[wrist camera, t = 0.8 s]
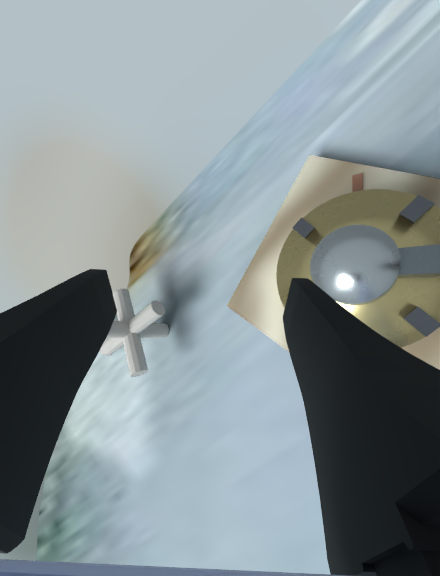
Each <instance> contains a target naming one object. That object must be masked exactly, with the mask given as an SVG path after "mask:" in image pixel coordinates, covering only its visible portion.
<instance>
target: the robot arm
mask: <svg viewBox="0 0 440 576" xmlns="http://www.w3.org/2000/svg"><path fill="white" fill-rule="evenodd" d="M116 312H117V308H116V305H115V301H114V297H113V293H112V290H111V286H110V282H109V279H108V275H107V271H106V270H97V269H90V270H87V271H85V272H83V273H81V274H79V275H76V276H75V277H72V278H70V279H68V280H67V281H65V282H63V283H61V284H59V285H57V286H55V287H53V288H51V289H49V290H47V291H45V292H44V293H42V294H40V295H38V296H36V297H34V298H32V299H30V300H27V301H25V302H23V303H21V304H19V305H17V306H15V307H13V308H11V309H9V310H7V311H5V312H2V313H0V553H8V552H10V551H12V550H13V549H14V548H15V547H17V546H18V545H19V544H20V543H21V542H22V541H23V540H24V538H25V535H26V531H27V528H28V524H29V521H30V518H31V515H32V512H33V508H34V506H35V503H36V499H37V496H38V493H39V490H40V487H41V484H42V481H43V478H44V475H45V473H46V470H47V467H48V464H49V461H50V458H51V456H52V453H53V450H54V447H55V445H56V442H57V440H58V437H59V434H60V432H61V429H62V427H63V424H64V422H65V419H66V417H67V414H68V412H69V410H70V407H71V405H72V403H73V400H74V398H75V395H76V393H77V391H78V389H79V387H80V385H81V383H82V381H83V379H84V378H85V376H86V374H87V372H88V370H89V369H90V367H91V365H92V363H93V361H94V359H95V358H96V356H97V354H98V352H99V350H100V349H101V347H102V345H103V343H104V341H105V339H106V337H107V335H108V334H109V331H110V329H111V326H112V324H113V321H114V318H115V315H116ZM283 324H284V331H285V337H286V342H287V345H288V349H289V352H290V356H291V359H292V363H293V366H294V369H295V373H296V376H297V379H298V383H299V386H300V389H301V393H302V397H303V401H304V405H305V410H306V416H307V421H308V426H309V431H310V437H311V443H312V449H313V455H314V461H315V467H316V474H317V481H318V487H319V494H320V501H321V509H322V517H323V525H324V533H325V541H326V550H327V559H328V564H329V568H330V573H331V575H325V574H304V573H282V572H261V571H239V570H218V569H197V568H175V567H154V566H132V565H111V564H90V563H68V562H47V561H25V560H2V559H0V576H440V370H439V369H437V368H435V367H433V366H432V365H430V364H428V363H426V362H424V361H423V360H421V359H419V358H417V357H415V356H414V355H412V354H410V353H409V352H407V351H405V350H404V349H402V348H400V347H399V346H397V345H396V344H394V343H393V342H391V341H389V340H388V339H386V338H385V337H383V336H382V335H380V334H379V333H377V332H376V331H374V330H373V329H371V328H370V327H369V326H367V325H366V324H365V323H363V322H362V321H360V320H359V319H358V318H356V317H355V316H354V315H352V314H351V313H350V312H349V311H347V310H346V309H345V308H344V307H342V306H341V305H340V304H339V303H337V302H336V301H335V300H334V299H333V298H331V297H330V296H329V295H328V294H327V293H325V292H324V291H323V290H322V289H321V288H319V287H318V286H317V285H316V284H315V283H313V282H312V281H311V280H309V279H308V278H292V280H291V284H290V288H289V293H288V297H287V301H286V305H285V310H284V314H283Z"/></svg>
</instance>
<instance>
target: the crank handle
mask: <svg viewBox="0 0 440 576" xmlns="http://www.w3.org/2000/svg"><path fill="white" fill-rule="evenodd" d="M434 204H435V203H434V202H432V201H430V200H428V199H426V198H424V197H422V196H420V195H418V196H415V195H412V194H409V193H405V192H402V191H396V190H389V189H369V190H361V191H355V192H351V193H347V194H343V195H340V196H338V197H335V198H333V199H331V200H329V201H327V202H325V203H323V204H321V205H319V206H318V207H316V208H315V209H313V210H312V211H311V212H309V213H308V214H307V215H306V216H305V217H304V218H302V217H301V218H300V220H299V221H298V222H297V223H296V224H295V225H294V226H293V227H292V228H293V230H292V231H291V233H290V234H289V236H288V237H287V239H286V241H285V243H284V245H283V247H282V249H281V252H280V255H279V259H278V263H277V272H276V277H277V288H278V293H279V296H280V299H281V302H282V304H283V306H284V308H285V305H286V301H287V297H288V293H289V288H290V284H291V280H292V278H308V279H309V280H311V281H312V282H313V283H315V284H316V285H317V286H318V287H319V288H321V289H322V290H323V291H324V292H325V293H327V294H328V295H329V296H330V297H331V298H333V299H334V300H335V301H336V302H337V303H339V304H340V305H341V306H342V307H344V308H345V309H346V310H347V311H349V312H350V313H351V314H352V315H354V316H355V317H356V318H358V319H359V320H360V321H362V322H363V323H365V324H366V325H367V326H369V327H370V328H371V329H373V330H374V331H376V332H377V333H379V334H380V335H382V336H383V337H385V338H386V339H388V340H389V341H391V342H393V343H394V344H396V345H397V346H399V347H400V348H402V347H405V346H408V345H410V344H412V343H414V342H417V341H419V340H421V339H423V338H424V337H427V336H428V335H430V334H431V333H432V332H434V331H435V330H436V329H438V328H439V327H440V209H439V208H438V207H436V206H435V205H434Z"/></svg>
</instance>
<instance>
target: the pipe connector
mask: <svg viewBox="0 0 440 576" xmlns="http://www.w3.org/2000/svg"><path fill="white" fill-rule="evenodd" d="M113 297H114V301H115V305H116V308H117V316H118V320H119V321H113V324H112V326H111V329H110V331H109V334H108V335H107V337H106V338H107V339H106V340H105V341H104V343H103V345H102V347H101V349H100V352H101V353H102V354H103V355H106V356H109V355H112V354H113V353H114V352H115V351H117V350H118V349H119V348H121V347H122V346H123V345H124V349H125V353H126V358H127V363H128V367H129V372H130V376H131V377H136V376H140V375H142V374H145V373H147V372H148V368H147V364H146V360H145V356H144V352H143V348H142V343H141V339H140V338H165V337H167V335H168V333H169V327H168V325H167V324H164V323H154V322H155V321H156V320H158V319H159V318H160V317H162V316H163V315H164V314H165V308H164V306H163V304H162V303H161V302H159V301H153V302H151V303H150V304H149V305H148V306H146V307H145V308H144V309H143V310H142V311H140V312H139V313H138V314H137V315H134V311H133V307H132V303H131V299H130V295H129V291H128V290H127V289H119V290H116V291H115V292H114V293H113Z"/></svg>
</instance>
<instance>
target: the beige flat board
mask: <svg viewBox="0 0 440 576" xmlns="http://www.w3.org/2000/svg"><path fill="white" fill-rule="evenodd" d="M369 189H389V190H396V191H402V192H405V193H409V194H412V195H415V196H418V195H420V196H422V197H424V198H426V199H428V200H430V201H432V202H434V203H435V204H434V205H435V206H436V207H438V208H439V209H440V179H438V178H433V177H427V176H422V175H417V174H411V173H406V172H400V171H395V170H389V169H384V168H378V167H373V166H368V165H362V164H357V163H351V162H346V161H340V160H335V159H329V158H324V157H319V156H313V155H309V157H308V159H307V160H306V162H305V164H304V166H303V168H302V170H301V171H300V173H299V175H298V177H297V179H296V180H295V182H294V184H293V186H292V188H291V190H290V191H289V193H288V195H287V197H286V199H285V201H284V202H283V204H282V206H281V208H280V210H279V212H278V213H277V215H276V217H275V219H274V221H273V223H272V224H271V226H270V228H269V230H268V232H267V233H266V235H265V237H264V239H263V241H262V243H261V244H260V246H259V248H258V250H257V252H256V254H255V255H254V257H253V259H252V261H251V263H250V265H249V266H248V268H247V270H246V272H245V274H244V276H243V277H242V279H241V281H240V283H239V285H238V286H237V288H236V290H235V292H234V294H233V296H232V297H231V299H230V301H229V303H228V305H227V306H228V307H229V308H230V309H232V310H233V311H234V312H236V313H237V314H238V315H240V316H241V317H242V318H244V319H245V320H246V321H248V322H249V323H251V324H252V325H253V326H255V327H256V328H257V329H259V330H260V331H261V332H263V333H264V334H265V335H267V336H268V337H269V338H271V339H272V340H274V341H275V342H276V343H278V344H279V345H280V346H282V347H283V348H284V349H286V350H287V351H288V352H289V349H288V345H287V342H286V337H285V331H284V324H283V314H284V310H285V308H284V306H283V304H282V302H281V299H280V296H279V293H278V288H277V277H276V272H277V263H278V259H279V255H280V252H281V249H282V247H283V245H284V243H285V241H286V239H287V237H288V236H289V234H290V233H291V231H292V230H293V228H292V227H293V226H294V225H295V224H296V223H297V222H298V221H299V220H300V218H301V217H302V218H304V217H305V216H306V215H307V214H308V213H309V212H311V211H312V210H313V209H315V208H316V207H318V206H319V205H321V204H323V203H325V202H327V201H329V200H331V199H333V198H335V197H338V196H340V195H343V194H347V193H351V192H355V191H361V190H369ZM402 349H404V350H405V351H407V352H409V353H410V354H412V355H414V356H415V357H417V358H419V359H421V360H423V361H424V362H426V363H428V364H430V365H432V366H433V367H435V368H437V369H439V370H440V327H439V328H438V329H436V330H435V331H434V332H432V333H431V334H430V335H428V336H427V337H424V338H423V339H421V340H419V341H417V342H414V343H412V344H410V345H408V346H405V347H402Z"/></svg>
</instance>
